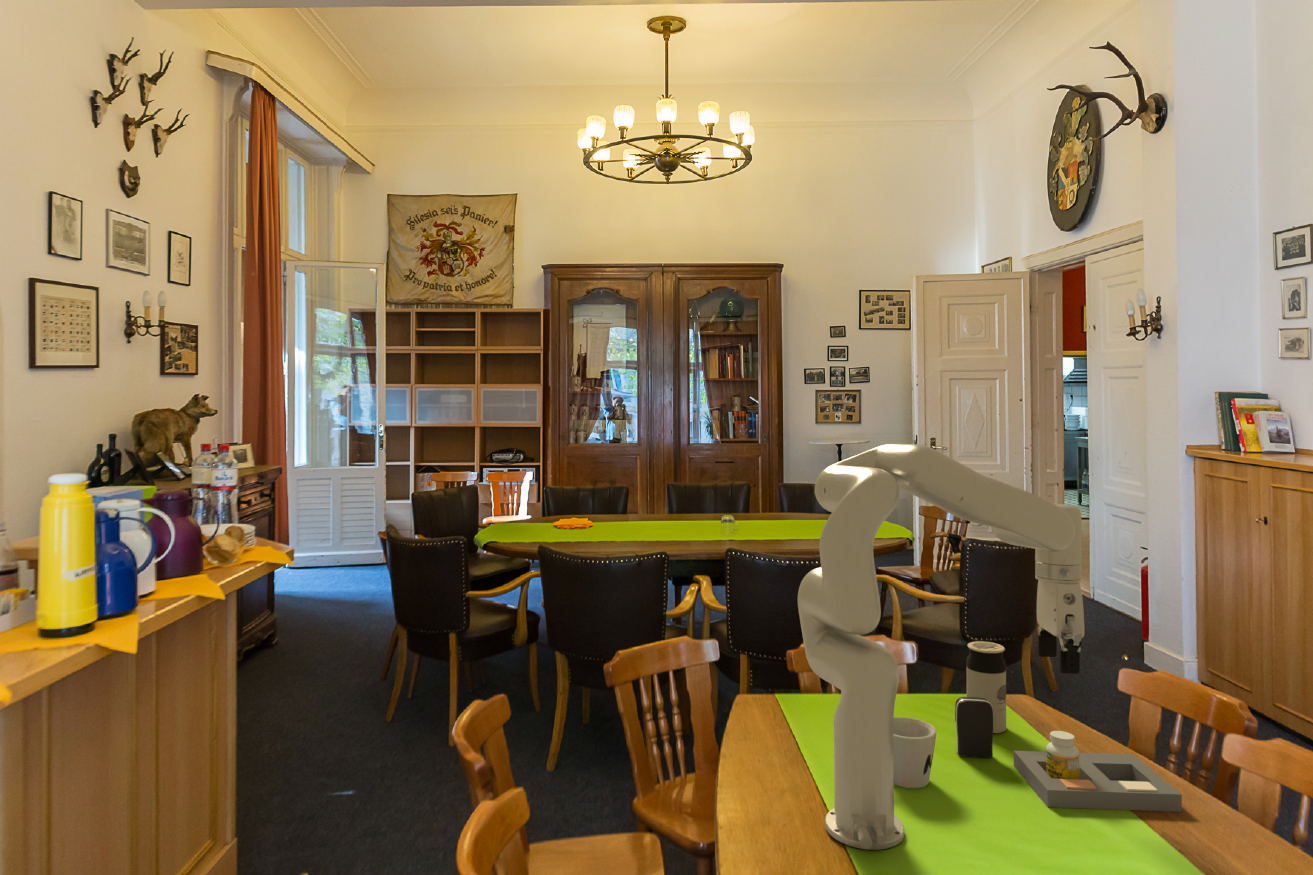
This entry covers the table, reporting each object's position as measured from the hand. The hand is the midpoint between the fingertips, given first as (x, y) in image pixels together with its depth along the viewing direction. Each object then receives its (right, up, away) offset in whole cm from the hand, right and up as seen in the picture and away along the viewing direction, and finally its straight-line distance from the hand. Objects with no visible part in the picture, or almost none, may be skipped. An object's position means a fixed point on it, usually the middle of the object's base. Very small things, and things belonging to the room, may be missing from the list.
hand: (1057, 664), depth 140 cm
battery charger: (-10, -23, +14) cm, 28 cm away
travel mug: (-1, -22, +27) cm, 35 cm away
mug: (-29, -23, +4) cm, 37 cm away
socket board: (+6, -22, -1) cm, 23 cm away
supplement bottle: (+1, -23, 0) cm, 23 cm away
